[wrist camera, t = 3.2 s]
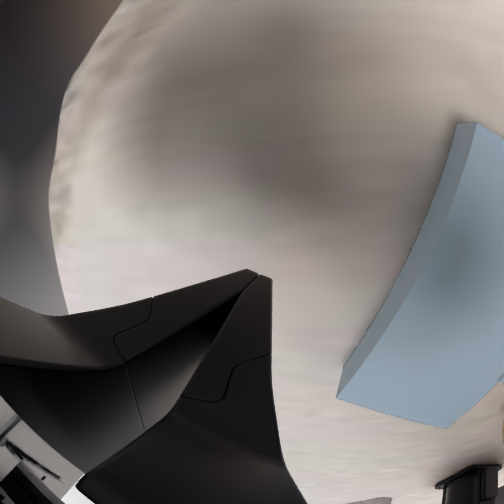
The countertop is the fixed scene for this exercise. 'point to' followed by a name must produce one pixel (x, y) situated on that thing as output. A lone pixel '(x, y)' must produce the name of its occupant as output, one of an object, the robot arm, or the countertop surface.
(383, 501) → the adjustable wrench
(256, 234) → the countertop surface
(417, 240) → the light blue block
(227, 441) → the robot arm
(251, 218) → the countertop surface
